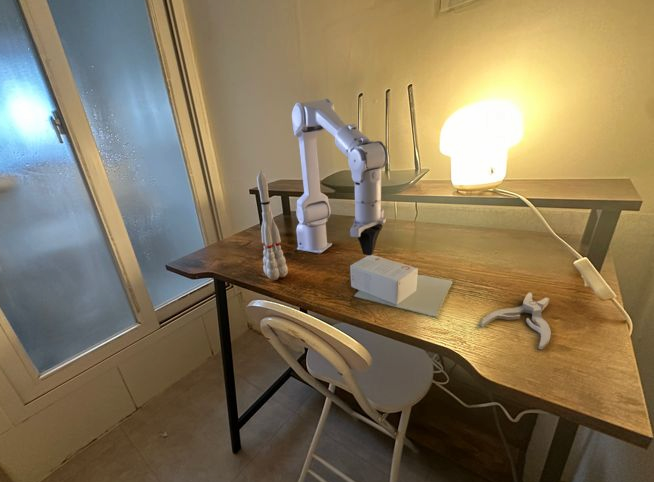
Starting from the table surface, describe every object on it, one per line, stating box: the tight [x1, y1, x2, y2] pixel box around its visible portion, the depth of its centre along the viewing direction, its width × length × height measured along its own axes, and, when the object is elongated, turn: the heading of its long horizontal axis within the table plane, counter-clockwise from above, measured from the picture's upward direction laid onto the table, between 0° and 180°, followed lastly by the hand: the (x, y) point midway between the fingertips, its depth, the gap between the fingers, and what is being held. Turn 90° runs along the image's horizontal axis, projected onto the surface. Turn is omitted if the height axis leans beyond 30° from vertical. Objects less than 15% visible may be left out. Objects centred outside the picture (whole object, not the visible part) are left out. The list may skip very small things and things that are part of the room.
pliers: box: [479, 292, 552, 351], centre depth 58 cm, size 10×2×15 cm
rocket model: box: [256, 169, 289, 281], centre depth 81 cm, size 7×7×30 cm
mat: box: [353, 273, 453, 318], centre depth 73 cm, size 18×16×1 cm
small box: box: [349, 254, 419, 305], centre depth 72 cm, size 8×6×13 cm
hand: (368, 253), depth 75 cm, fingers closed
